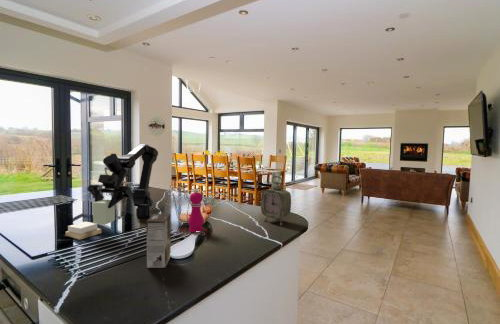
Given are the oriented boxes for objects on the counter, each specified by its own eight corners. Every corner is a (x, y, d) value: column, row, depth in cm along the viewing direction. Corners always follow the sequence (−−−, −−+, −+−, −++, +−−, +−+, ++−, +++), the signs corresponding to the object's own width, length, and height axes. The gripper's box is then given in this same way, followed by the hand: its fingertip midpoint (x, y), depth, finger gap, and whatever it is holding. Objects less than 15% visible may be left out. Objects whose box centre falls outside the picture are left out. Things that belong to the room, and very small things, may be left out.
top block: (85, 226, 128) (84, 221, 128) (97, 228, 125) (97, 223, 125) (68, 231, 121) (67, 226, 121) (80, 234, 118) (80, 228, 118)
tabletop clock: (260, 221, 150) (261, 175, 148) (270, 218, 156) (272, 174, 154) (282, 227, 140) (283, 178, 138) (292, 223, 146) (293, 176, 145)
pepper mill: (206, 229, 134) (206, 188, 132) (198, 234, 127) (199, 191, 125) (193, 227, 136) (193, 187, 134) (185, 232, 129) (185, 189, 128)
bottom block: (87, 230, 130) (87, 225, 130) (101, 234, 126) (101, 228, 126) (65, 237, 121) (65, 231, 121) (79, 241, 117) (79, 235, 117)
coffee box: (153, 256, 101) (153, 213, 100) (171, 256, 102) (171, 213, 101) (146, 268, 92) (145, 220, 91) (165, 267, 93) (165, 220, 91)
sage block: (102, 219, 123) (101, 199, 122) (114, 220, 122) (114, 200, 122) (93, 223, 117) (92, 202, 117) (106, 224, 116) (105, 203, 116)
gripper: (89, 166, 123) (71, 196, 113) (128, 168, 121) (113, 198, 111) (101, 181, 131) (85, 210, 121) (138, 183, 129) (125, 212, 119)
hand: (101, 207), depth 118 cm, fingers closed on sage block, 6 cm apart
